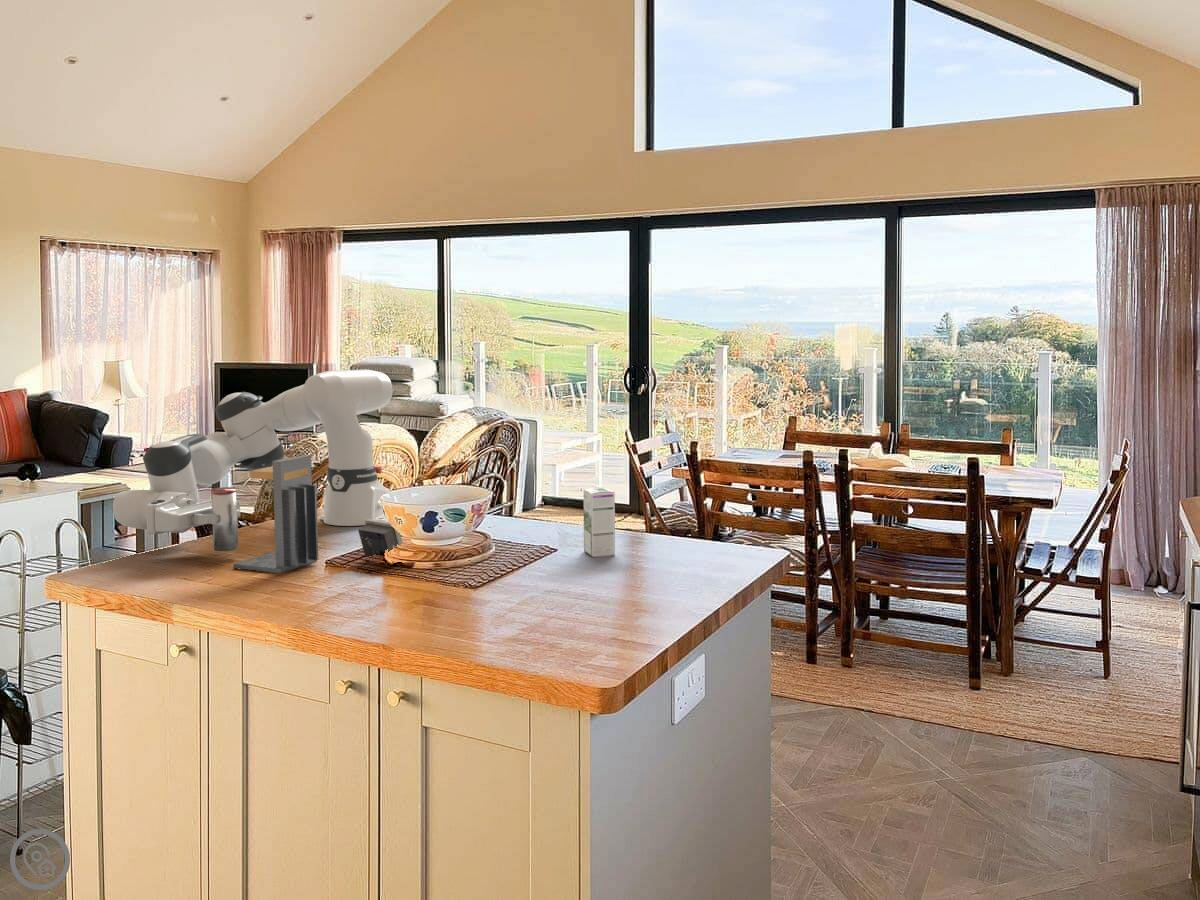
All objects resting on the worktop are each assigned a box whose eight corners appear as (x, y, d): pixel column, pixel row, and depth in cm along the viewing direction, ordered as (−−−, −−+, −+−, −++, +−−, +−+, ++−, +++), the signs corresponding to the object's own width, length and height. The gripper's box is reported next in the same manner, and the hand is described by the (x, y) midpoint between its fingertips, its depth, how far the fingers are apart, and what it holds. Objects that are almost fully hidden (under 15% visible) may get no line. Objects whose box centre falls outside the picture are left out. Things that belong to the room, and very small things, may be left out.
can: (224, 545, 222) (222, 486, 220) (244, 547, 220) (241, 488, 218) (207, 550, 217) (205, 490, 215) (227, 552, 215) (225, 491, 213)
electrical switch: (407, 563, 217) (403, 521, 215) (390, 570, 212) (386, 527, 210) (376, 557, 222) (372, 516, 220) (358, 564, 217) (354, 523, 215)
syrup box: (615, 555, 224) (616, 491, 223) (590, 557, 222) (591, 492, 221) (607, 550, 230) (607, 487, 228) (582, 552, 228) (582, 488, 226)
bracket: (270, 556, 222) (267, 452, 219) (324, 561, 217) (321, 455, 214) (233, 568, 211) (229, 459, 208) (289, 574, 206) (285, 462, 203)
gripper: (210, 518, 232) (260, 522, 227) (142, 535, 213) (195, 540, 208) (209, 490, 231) (259, 494, 226) (140, 505, 212) (193, 510, 207)
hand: (228, 516), depth 217 cm, fingers closed on can, 5 cm apart
